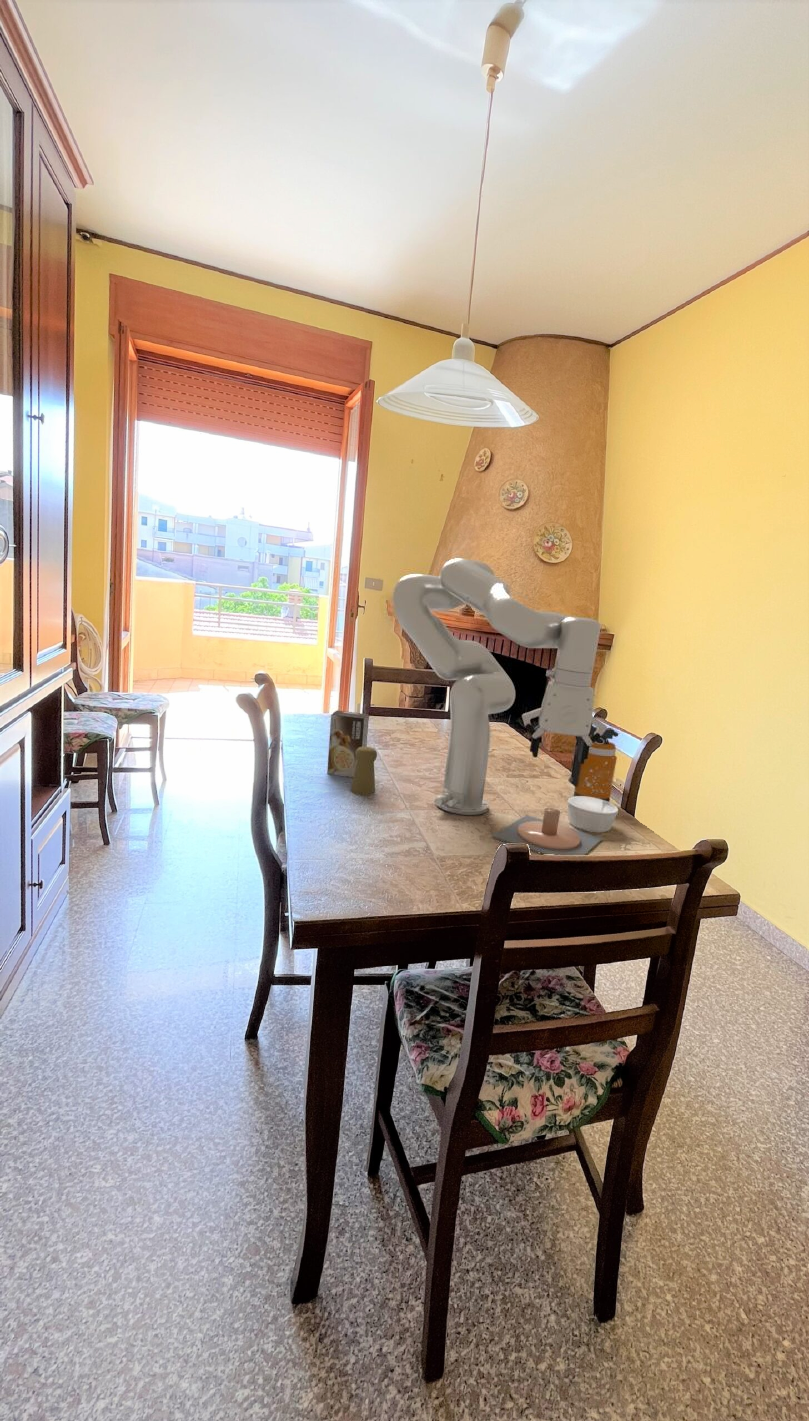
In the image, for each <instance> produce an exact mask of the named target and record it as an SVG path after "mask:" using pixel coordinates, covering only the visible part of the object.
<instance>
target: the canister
mask: <svg viewBox="0 0 809 1421" xmlns="http://www.w3.org/2000/svg"><path fill="white" fill-rule="evenodd" d="M596 730H597V727H596V726H594V725H593V724H591V729H590V733H589V734H588V736H590V735H591V734H592V733H594V732H595V731H596ZM618 736H619V733H618V732H617V731H615V729H613V728H612V727H607V729H606V730H605V732H604V733H603V734H602V735H601V737H600V738H599V739H598V740H597V741H595V742H594V743H592V745H591V746H590V747H589V753H588V758H587V759H585V760H584V764H581V763H580V762H579V761H578V755H579V749H580V744H581V743H582V742H583V738H582V737H580V736H574V737H575V741H576V743H575V745H574V754H573V755H574V756H573V762H572V767H571V773H570V774H571V775H570V777H569V778H568V780H567V781H568V782H569V784H571V785H572V786H574V791H573V797H574V796H587V797H593V798H598V799H601V800H604V801H607V802H610V800H611V795H612V788H613V782H614V777H615V771H616V765H617V760H618V759H617V758H618V757H617V756H616V750H617V747H616V744H615V743H613V742H611V741H609V739H610V740H613V737H618Z"/></svg>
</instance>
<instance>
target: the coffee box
mask: <svg viewBox="0 0 809 1421" xmlns="http://www.w3.org/2000/svg"><path fill="white" fill-rule="evenodd" d="M369 718H370V714H368V713H359V712H353V711H347V710H345V711H344V710H335V711H334V712H333V713H331V715H330V723H329V724H330V726H329V727H330V728H329V741H328V753H327V754H328V756H327V759H328V760H327V773H326V774H327V775H332V774H334V775H335V776H339V775H342V776H341V777H346V776H349V777H348V778H353V777H354V772H355V768H356V763H357V759H356V756H355V753H356V750H357V749H358V748H359V747H368V746H367V745H368V732H369V721H370V720H369ZM334 775H333V776H334Z"/></svg>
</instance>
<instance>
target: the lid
mask: <svg viewBox="0 0 809 1421" xmlns="http://www.w3.org/2000/svg"><path fill="white" fill-rule="evenodd" d="M560 815H561V811H560V810H559V809H557V808H552V807H545V808H544V811H543V819H542V820H543V822H541V821H531V822H525V823H522V824H520V825H519V827H518V835H519V836H520V837H521V838H522V839H523V840H525V841H526V842H528V843H531V844H533V845H536V846H539V847H543V848H547V849H554V850H569V849H574V848H576V847H578V846H579V844H580V836H579V835H578V834H577V833H576V832H574V831H573V830H571V829H572V828H571V829H569V828H570V827H568V828H567V826H564V825H560V824H559V821H560Z"/></svg>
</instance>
